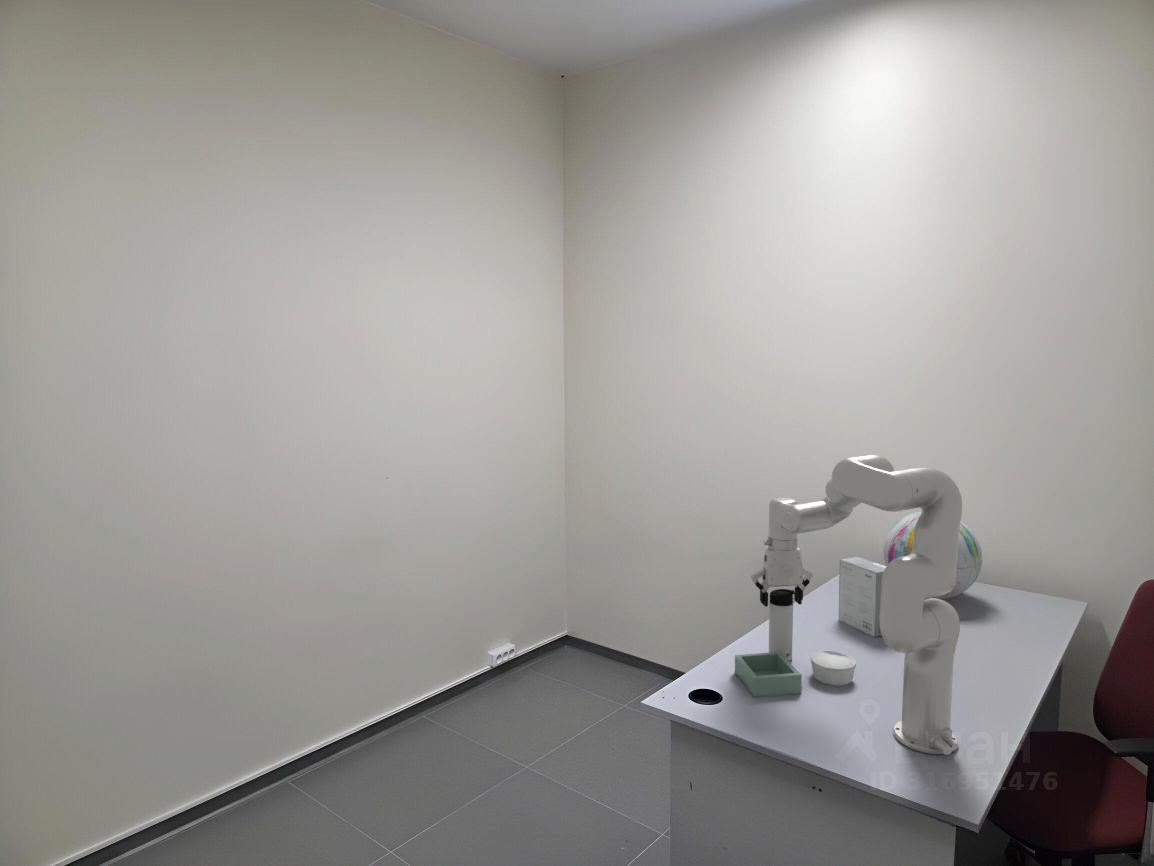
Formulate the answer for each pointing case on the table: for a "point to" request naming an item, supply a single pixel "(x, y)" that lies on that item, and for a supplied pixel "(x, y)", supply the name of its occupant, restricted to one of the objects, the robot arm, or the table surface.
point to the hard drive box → (860, 594)
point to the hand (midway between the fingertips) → (781, 603)
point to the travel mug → (781, 622)
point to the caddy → (767, 674)
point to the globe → (967, 560)
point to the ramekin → (833, 667)
